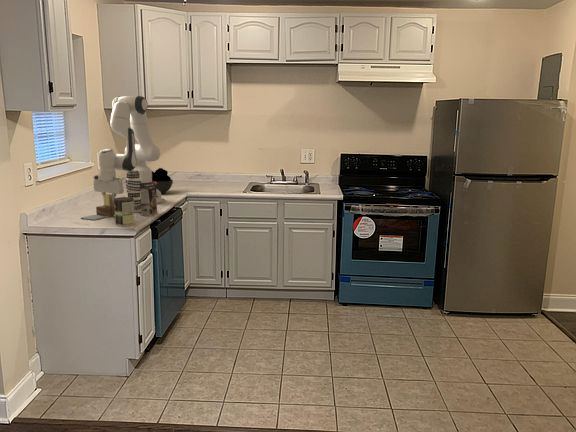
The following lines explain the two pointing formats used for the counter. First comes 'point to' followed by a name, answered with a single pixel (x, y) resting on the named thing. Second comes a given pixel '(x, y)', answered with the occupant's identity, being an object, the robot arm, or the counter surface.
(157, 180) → the coal bowl
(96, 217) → the rubber mat
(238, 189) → the counter surface
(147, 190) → the coffee box
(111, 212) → the socket block
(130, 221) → the coffee can
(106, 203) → the wooden square peg
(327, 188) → the counter surface
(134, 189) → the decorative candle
